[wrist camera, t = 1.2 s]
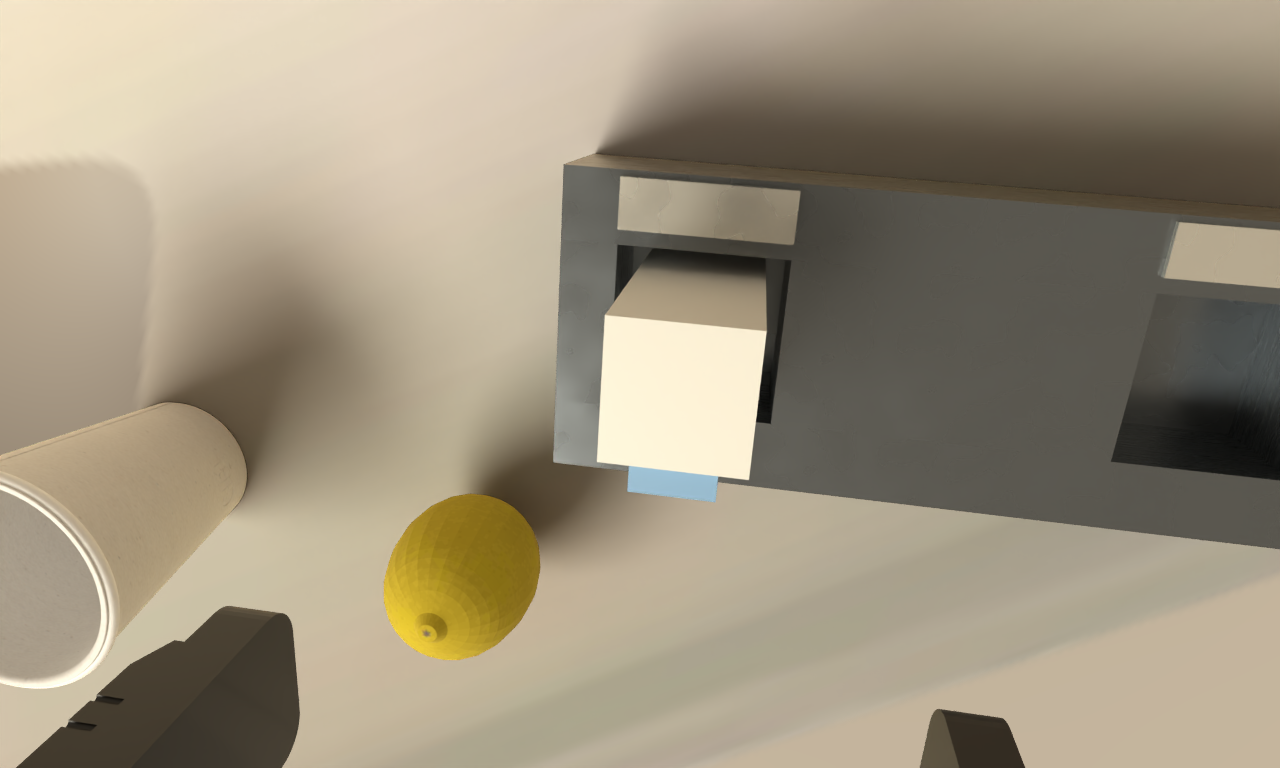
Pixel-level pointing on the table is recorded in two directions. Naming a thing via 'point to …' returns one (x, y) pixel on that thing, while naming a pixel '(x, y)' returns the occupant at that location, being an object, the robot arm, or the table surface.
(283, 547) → the table surface
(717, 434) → the plug
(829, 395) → the panel
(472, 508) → the lemon
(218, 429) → the dixie cup
